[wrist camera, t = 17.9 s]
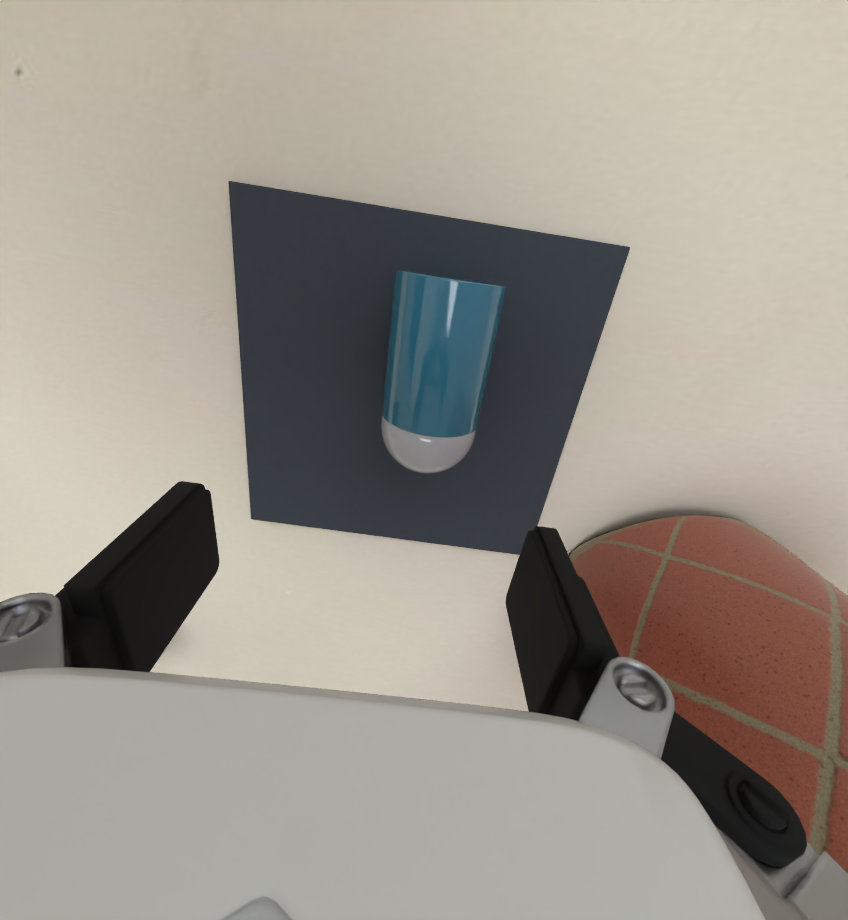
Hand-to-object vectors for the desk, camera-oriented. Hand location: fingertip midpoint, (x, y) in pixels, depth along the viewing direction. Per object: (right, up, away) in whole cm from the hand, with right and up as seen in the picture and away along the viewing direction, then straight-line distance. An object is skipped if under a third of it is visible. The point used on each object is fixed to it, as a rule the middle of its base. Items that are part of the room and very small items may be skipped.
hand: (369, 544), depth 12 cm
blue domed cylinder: (+2, +6, +9) cm, 11 cm away
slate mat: (+1, +6, +12) cm, 14 cm away
